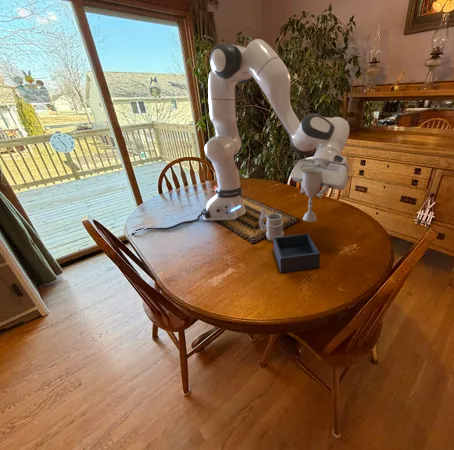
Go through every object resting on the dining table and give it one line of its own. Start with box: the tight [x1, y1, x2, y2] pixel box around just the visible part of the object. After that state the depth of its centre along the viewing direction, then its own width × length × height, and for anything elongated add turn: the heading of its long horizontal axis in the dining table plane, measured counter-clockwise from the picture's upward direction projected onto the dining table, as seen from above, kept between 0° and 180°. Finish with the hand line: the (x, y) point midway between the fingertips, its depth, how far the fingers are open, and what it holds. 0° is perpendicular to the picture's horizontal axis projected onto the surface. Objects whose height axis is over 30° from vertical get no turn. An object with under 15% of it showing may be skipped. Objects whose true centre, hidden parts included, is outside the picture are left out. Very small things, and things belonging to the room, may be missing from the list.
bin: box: [272, 233, 321, 273], centre depth 86 cm, size 14×14×6 cm
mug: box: [258, 207, 285, 242], centre depth 99 cm, size 8×12×12 cm, turn 54°
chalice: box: [301, 168, 323, 223], centre depth 83 cm, size 7×7×18 cm
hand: (310, 195), depth 82 cm, fingers closed on chalice, 5 cm apart
